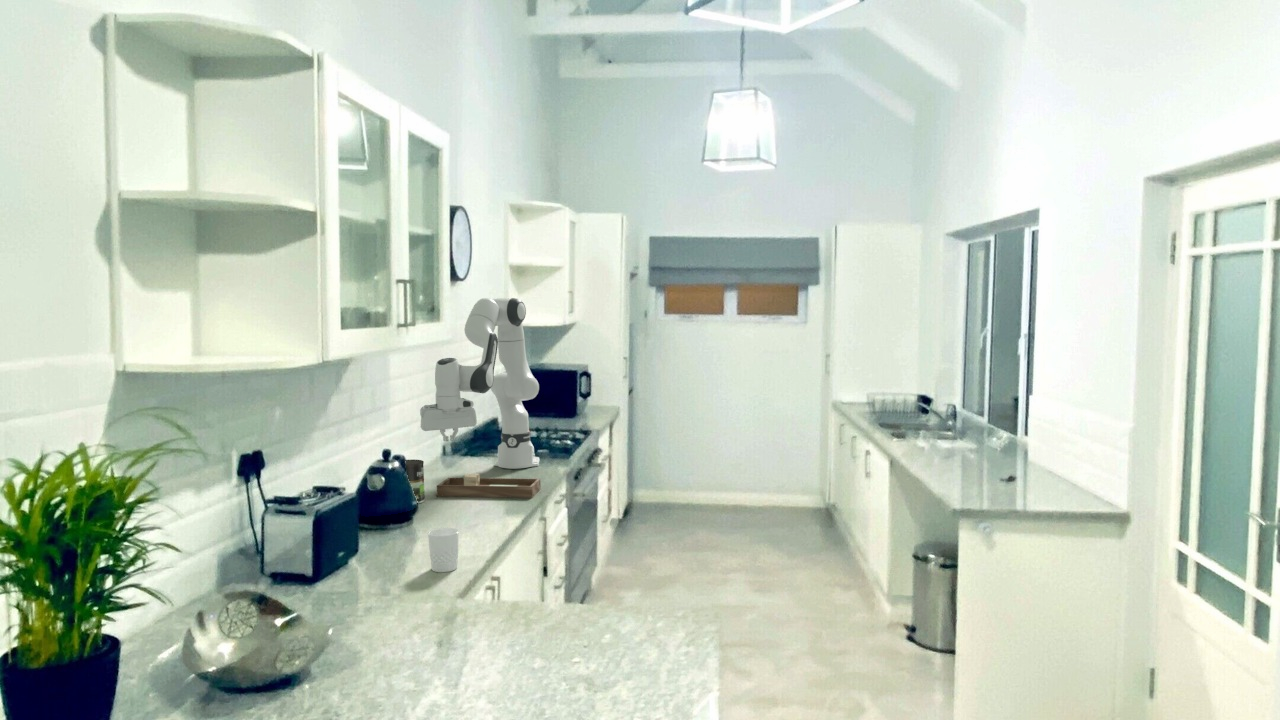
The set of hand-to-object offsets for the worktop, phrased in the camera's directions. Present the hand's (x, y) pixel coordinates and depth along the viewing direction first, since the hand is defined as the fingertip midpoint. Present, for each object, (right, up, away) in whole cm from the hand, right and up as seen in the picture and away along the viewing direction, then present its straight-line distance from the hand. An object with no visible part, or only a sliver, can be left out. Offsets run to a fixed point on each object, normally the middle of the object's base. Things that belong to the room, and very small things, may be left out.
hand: (449, 440), depth 320 cm
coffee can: (-11, -21, -12) cm, 26 cm away
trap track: (+15, -19, 0) cm, 24 cm away
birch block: (+8, -17, +1) cm, 19 cm away
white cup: (+17, -26, -86) cm, 92 cm away
